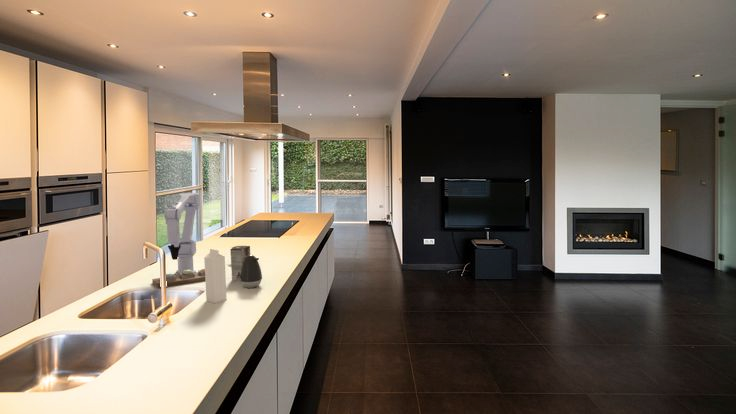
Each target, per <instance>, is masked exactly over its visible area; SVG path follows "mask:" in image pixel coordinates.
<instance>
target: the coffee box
mask: <svg viewBox="0 0 736 414" xmlns="http://www.w3.org/2000/svg"><path fill="white" fill-rule="evenodd" d="M236 246H237V247H235V246H234V247H235V248H232V247H231V248H230V264H231V265H230V267H231V280H232V281H240V272H241V267H242V263H243V261H244V259H245V257H246V256H248V255H251V245H236ZM240 282H241V281H240Z"/></svg>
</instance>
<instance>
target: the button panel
mask: <svg viewBox="0 0 736 414" xmlns="http://www.w3.org/2000/svg"><path fill="white" fill-rule="evenodd" d="M201 270H202V269H200V270H197V271H196V272H195V273H193V272H192V274H188V275H183V273H180V274H179V275H178V274H176V275H175V274H172V273H171V274H172V275H173V277H168V278H166V281H167V286H168V287H167V288H169V287H176V286H180V285H188V284H194V283H199V282H205V272H202V271H201ZM151 280H152V284H153V285H154V286H155V287H156V289H161V288H160V277H157V278H156V277H155V278H152V279H151Z"/></svg>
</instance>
